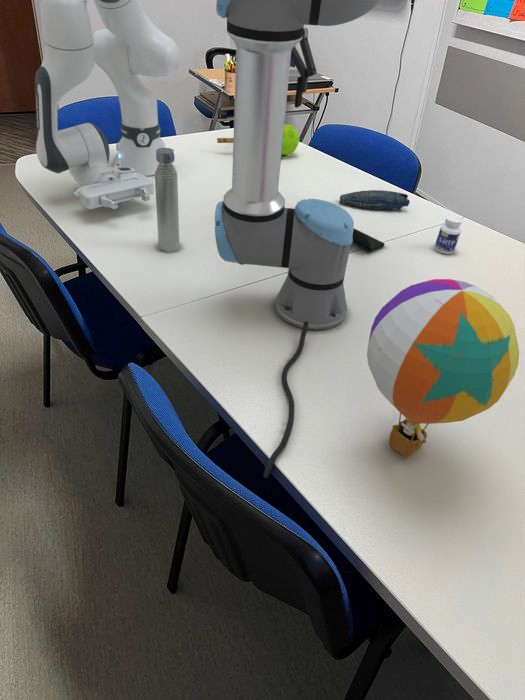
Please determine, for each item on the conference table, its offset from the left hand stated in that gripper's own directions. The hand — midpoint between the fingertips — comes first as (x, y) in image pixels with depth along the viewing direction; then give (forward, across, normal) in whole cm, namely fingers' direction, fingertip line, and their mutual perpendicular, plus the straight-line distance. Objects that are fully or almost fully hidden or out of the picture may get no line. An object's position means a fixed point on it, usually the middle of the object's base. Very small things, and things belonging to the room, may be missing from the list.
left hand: (131, 201), depth 135 cm
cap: (+16, 0, -18) cm, 24 cm away
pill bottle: (+58, +61, +6) cm, 84 cm away
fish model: (+28, +67, +6) cm, 73 cm away
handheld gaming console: (+42, +43, +6) cm, 61 cm away
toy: (+94, -6, +6) cm, 94 cm away
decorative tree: (-25, +66, +6) cm, 71 cm away
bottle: (+16, 0, +6) cm, 18 cm away
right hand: (+16, +33, -25) cm, 44 cm away
